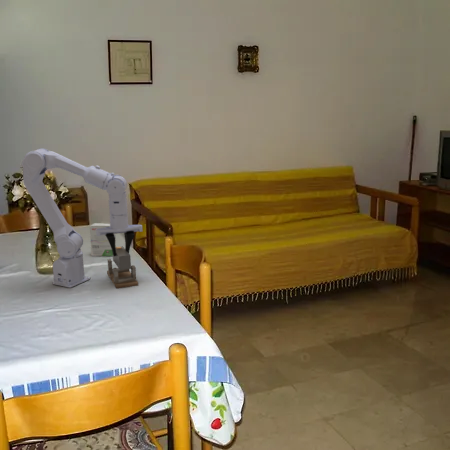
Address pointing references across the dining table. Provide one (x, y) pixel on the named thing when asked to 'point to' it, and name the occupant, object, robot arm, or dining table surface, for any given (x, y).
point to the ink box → (100, 241)
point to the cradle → (122, 276)
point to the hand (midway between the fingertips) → (121, 254)
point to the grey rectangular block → (122, 258)
